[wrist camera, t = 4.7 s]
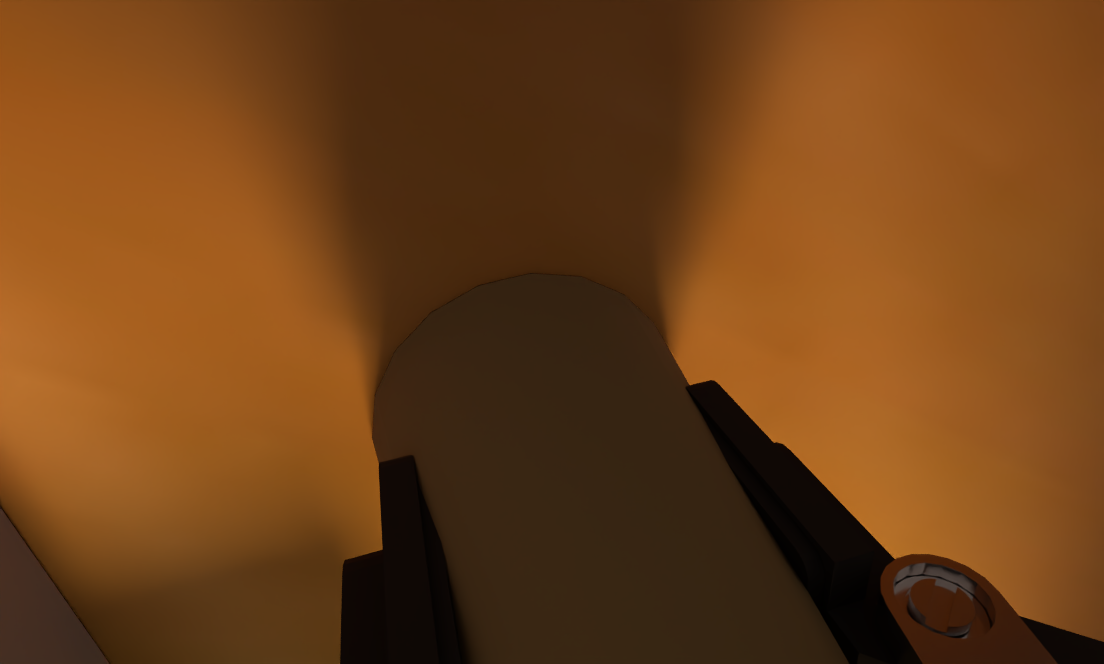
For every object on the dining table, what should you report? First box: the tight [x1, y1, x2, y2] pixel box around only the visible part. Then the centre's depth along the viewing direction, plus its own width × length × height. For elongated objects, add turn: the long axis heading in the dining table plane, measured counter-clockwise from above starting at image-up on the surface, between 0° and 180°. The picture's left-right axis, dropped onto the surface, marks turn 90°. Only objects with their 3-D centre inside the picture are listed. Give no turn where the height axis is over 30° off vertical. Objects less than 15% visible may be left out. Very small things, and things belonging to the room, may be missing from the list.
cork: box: [372, 273, 849, 664], centre depth 8 cm, size 6×6×11 cm
